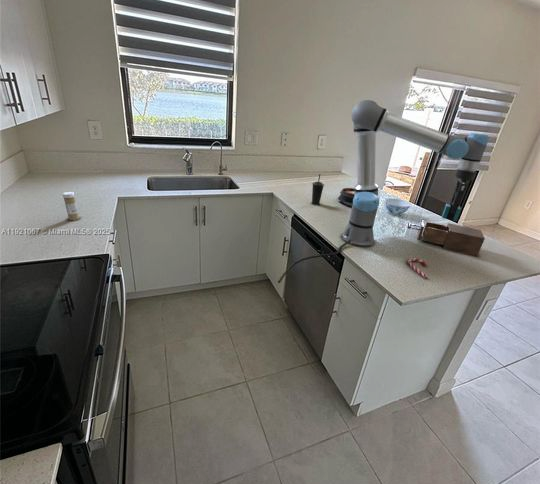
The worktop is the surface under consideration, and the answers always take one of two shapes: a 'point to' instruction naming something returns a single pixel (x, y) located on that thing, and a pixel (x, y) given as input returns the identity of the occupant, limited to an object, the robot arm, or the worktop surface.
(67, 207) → the sprinkles bottle
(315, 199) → the drinking cup
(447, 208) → the teal block
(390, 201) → the chinaware
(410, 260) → the candy cane
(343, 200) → the casserole
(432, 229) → the drawer
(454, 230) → the cabinet
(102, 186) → the worktop surface
